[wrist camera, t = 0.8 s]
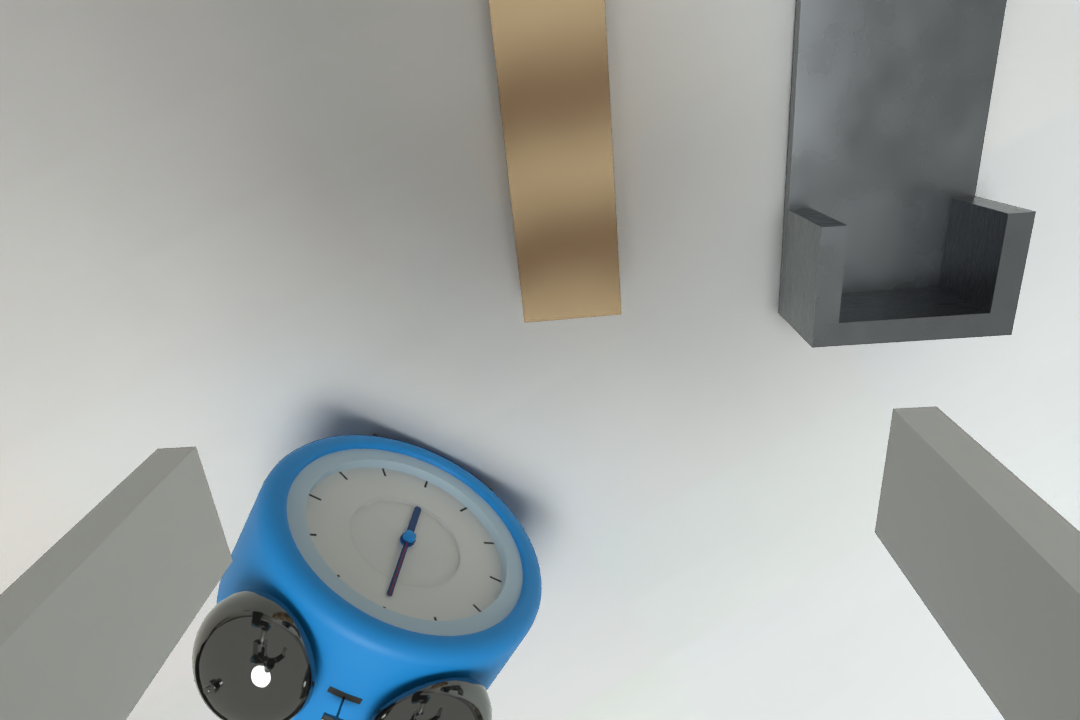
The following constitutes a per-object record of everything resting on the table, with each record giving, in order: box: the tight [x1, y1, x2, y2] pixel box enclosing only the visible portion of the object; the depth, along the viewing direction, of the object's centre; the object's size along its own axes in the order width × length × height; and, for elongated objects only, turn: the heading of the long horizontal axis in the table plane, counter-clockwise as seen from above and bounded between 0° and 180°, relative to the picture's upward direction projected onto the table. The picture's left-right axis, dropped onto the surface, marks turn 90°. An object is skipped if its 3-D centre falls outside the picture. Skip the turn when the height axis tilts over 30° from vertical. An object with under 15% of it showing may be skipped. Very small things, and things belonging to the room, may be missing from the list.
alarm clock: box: [192, 434, 541, 720], centre depth 29 cm, size 13×6×15 cm, turn 61°
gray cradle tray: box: [778, 0, 1036, 347], centre depth 25 cm, size 22×8×5 cm, turn 5°
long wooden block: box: [489, 0, 621, 322], centre depth 26 cm, size 18×4×5 cm, turn 6°
